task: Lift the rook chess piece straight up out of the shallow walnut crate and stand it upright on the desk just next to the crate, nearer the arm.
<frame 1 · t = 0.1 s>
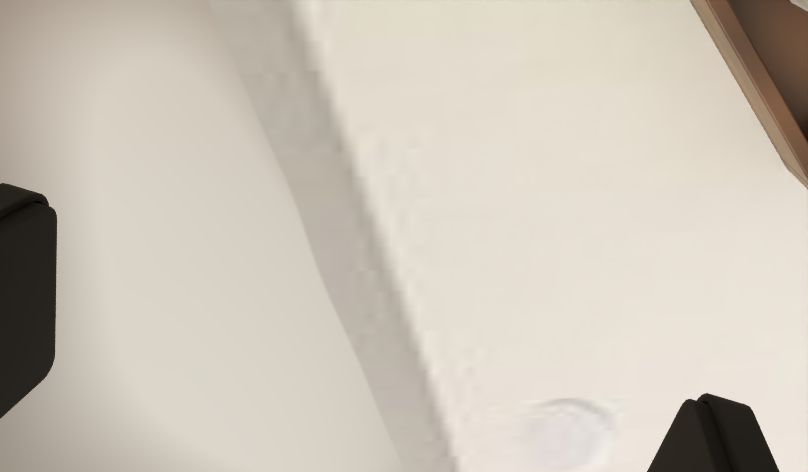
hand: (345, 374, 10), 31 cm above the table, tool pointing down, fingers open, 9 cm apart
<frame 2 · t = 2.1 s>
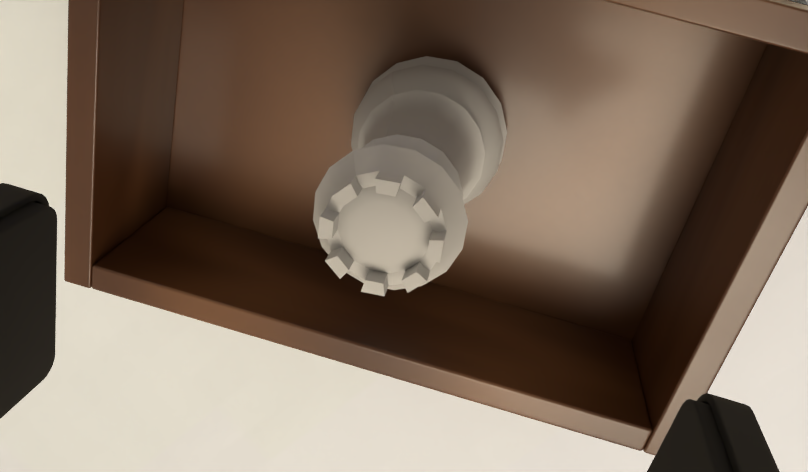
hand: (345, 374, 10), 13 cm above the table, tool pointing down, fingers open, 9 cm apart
rook chess piece: (432, 127, 21), resting on crate
crate: (434, 124, 21), on the table
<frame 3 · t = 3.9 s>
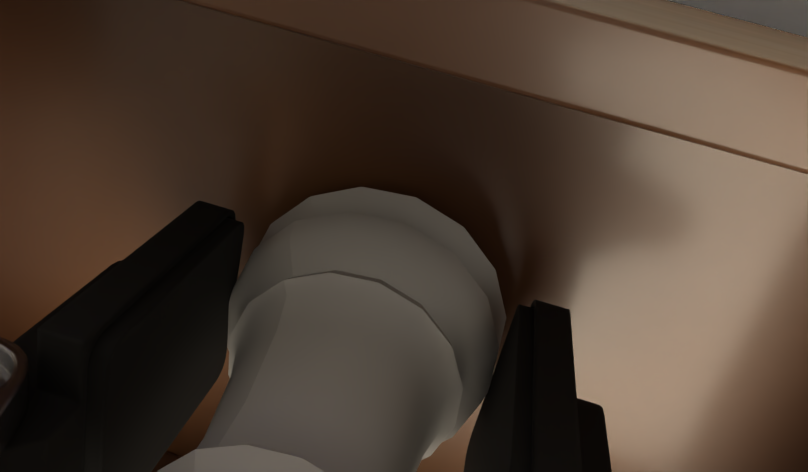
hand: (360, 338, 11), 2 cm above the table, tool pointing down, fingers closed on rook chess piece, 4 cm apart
rook chess piece: (380, 292, 12), resting on crate, touching gripper
crate: (384, 284, 13), on the table
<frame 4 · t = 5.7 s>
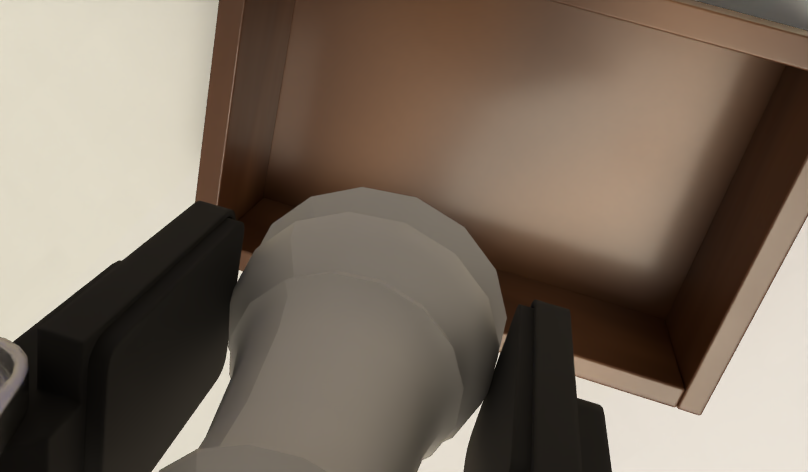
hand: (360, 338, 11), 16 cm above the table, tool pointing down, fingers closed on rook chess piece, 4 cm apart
rook chess piece: (381, 293, 12), point 14 cm above the table, touching gripper
crate: (498, 130, 25), on the table
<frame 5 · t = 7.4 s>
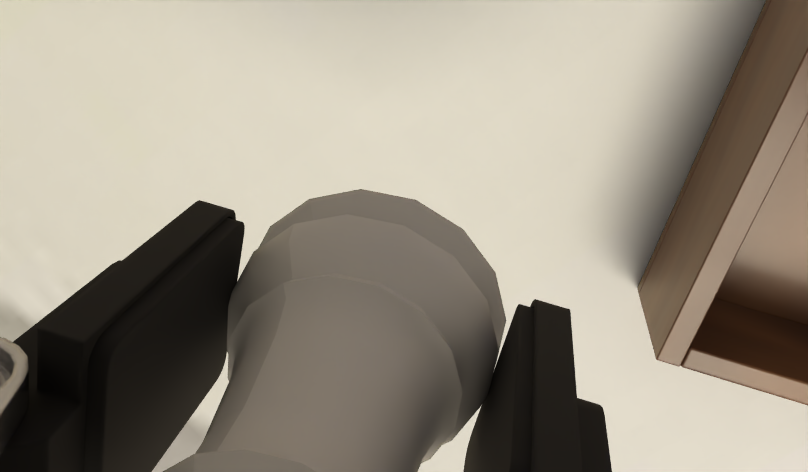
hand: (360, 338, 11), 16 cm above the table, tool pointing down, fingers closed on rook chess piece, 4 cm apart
rook chess piece: (380, 295, 12), point 14 cm above the table, touching gripper
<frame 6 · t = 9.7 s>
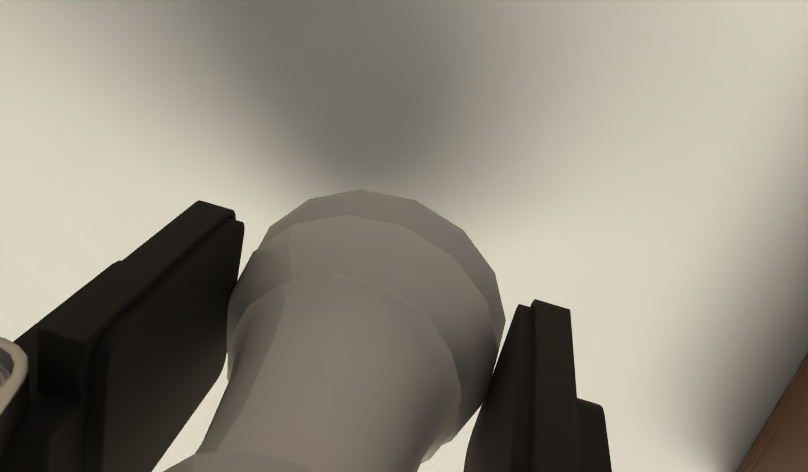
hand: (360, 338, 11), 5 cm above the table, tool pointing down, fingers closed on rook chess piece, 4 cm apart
rook chess piece: (379, 295, 12), point 4 cm above the table, touching gripper
when the fingers open (1 cm above the table, at t = 11.0 s): rook chess piece stays where it is, on the table.
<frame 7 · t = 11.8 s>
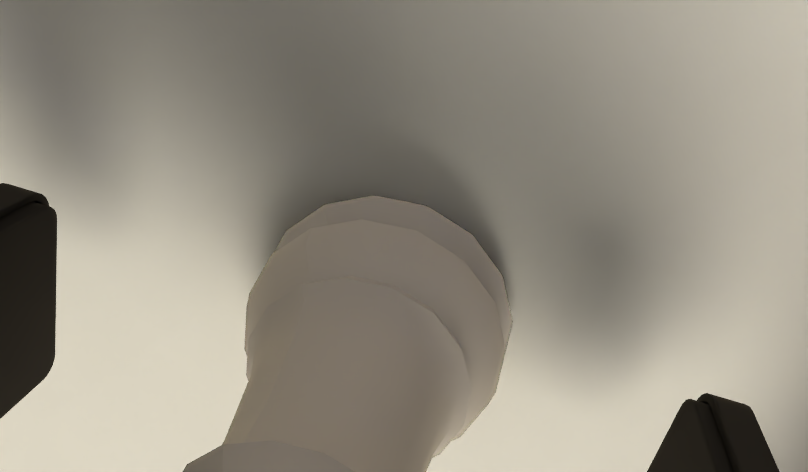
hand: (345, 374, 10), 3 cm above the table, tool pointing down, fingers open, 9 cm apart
rook chess piece: (390, 297, 13), on the table
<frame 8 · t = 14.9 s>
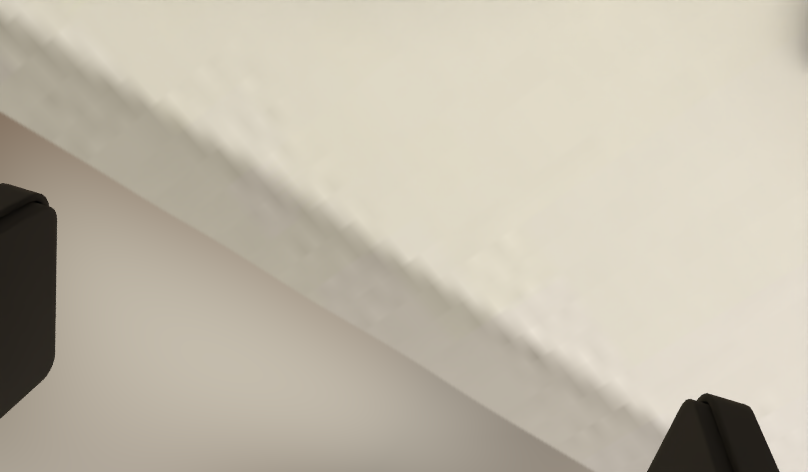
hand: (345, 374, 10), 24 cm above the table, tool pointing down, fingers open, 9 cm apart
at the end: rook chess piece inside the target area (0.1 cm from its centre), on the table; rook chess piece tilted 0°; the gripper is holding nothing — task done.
